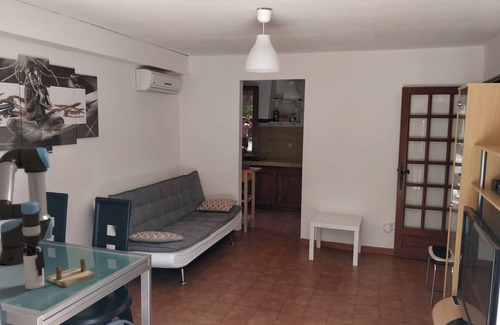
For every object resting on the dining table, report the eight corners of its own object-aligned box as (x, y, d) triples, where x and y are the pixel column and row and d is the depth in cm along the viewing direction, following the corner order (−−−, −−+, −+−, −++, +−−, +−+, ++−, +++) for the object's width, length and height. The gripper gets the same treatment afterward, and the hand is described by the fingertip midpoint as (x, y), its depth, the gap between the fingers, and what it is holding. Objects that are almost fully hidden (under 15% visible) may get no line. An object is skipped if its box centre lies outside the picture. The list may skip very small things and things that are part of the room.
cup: (31, 290, 192) (29, 257, 191) (21, 286, 197) (19, 254, 195) (47, 284, 199) (46, 252, 198) (38, 281, 204) (36, 249, 202)
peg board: (47, 280, 204) (46, 264, 204) (76, 270, 218) (75, 256, 217) (66, 287, 196) (65, 271, 195) (95, 276, 209) (94, 261, 208)
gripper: (12, 232, 198) (15, 278, 201) (36, 239, 187) (38, 287, 189) (27, 229, 204) (30, 273, 207) (51, 235, 193) (54, 282, 195)
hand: (34, 279), depth 198 cm, fingers open, 8 cm apart
